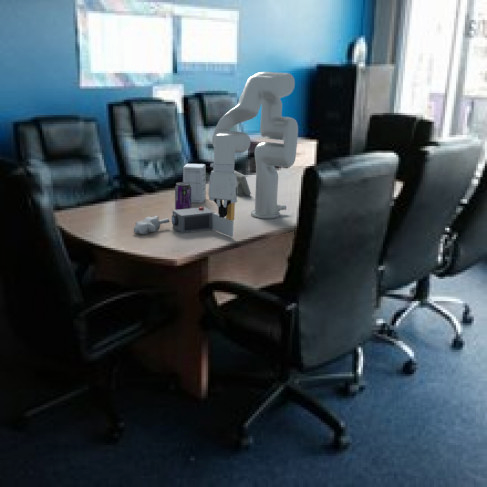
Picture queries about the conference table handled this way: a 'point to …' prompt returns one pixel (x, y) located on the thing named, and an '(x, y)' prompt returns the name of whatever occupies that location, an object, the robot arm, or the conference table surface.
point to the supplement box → (196, 181)
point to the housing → (192, 219)
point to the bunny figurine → (149, 225)
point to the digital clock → (242, 185)
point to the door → (224, 221)
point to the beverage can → (182, 196)
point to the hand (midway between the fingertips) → (222, 216)
